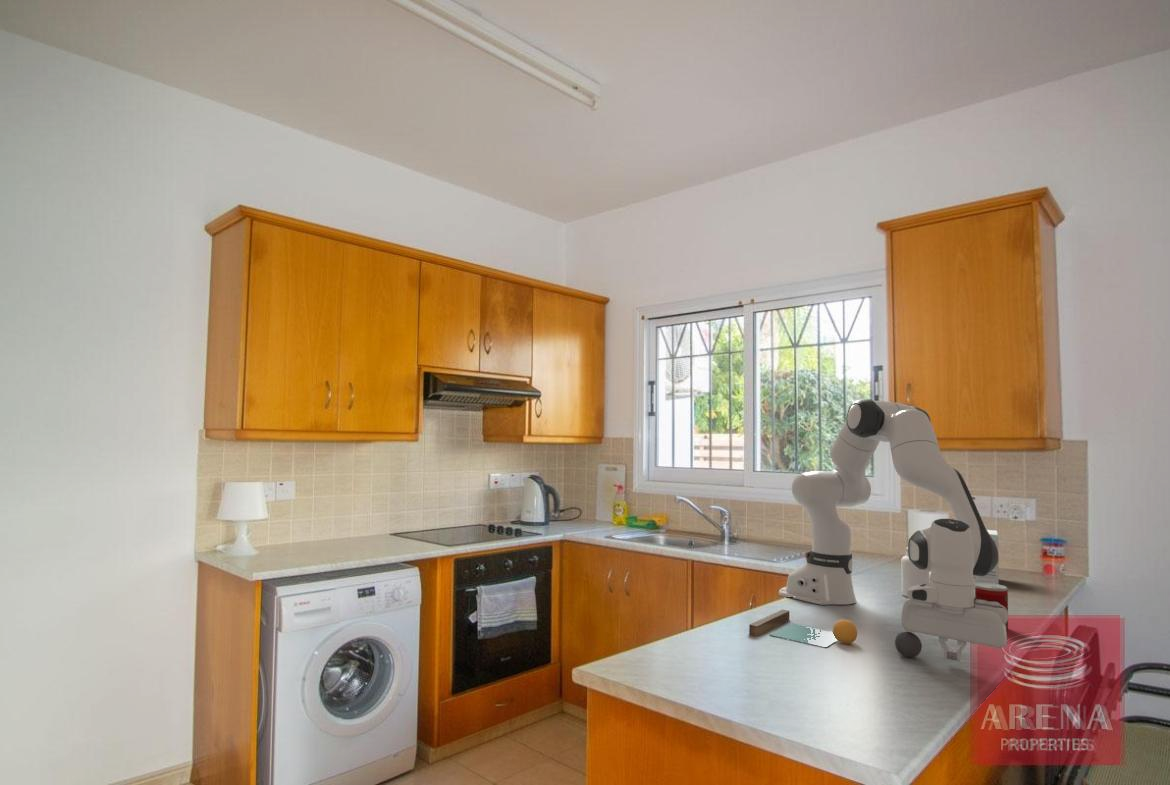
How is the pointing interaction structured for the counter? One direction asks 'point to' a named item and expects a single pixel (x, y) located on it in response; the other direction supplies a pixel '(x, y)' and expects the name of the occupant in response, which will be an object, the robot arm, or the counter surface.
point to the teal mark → (795, 633)
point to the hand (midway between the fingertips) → (952, 659)
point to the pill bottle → (911, 574)
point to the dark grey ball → (908, 644)
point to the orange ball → (845, 631)
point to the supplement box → (994, 574)
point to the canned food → (992, 594)
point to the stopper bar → (768, 623)
